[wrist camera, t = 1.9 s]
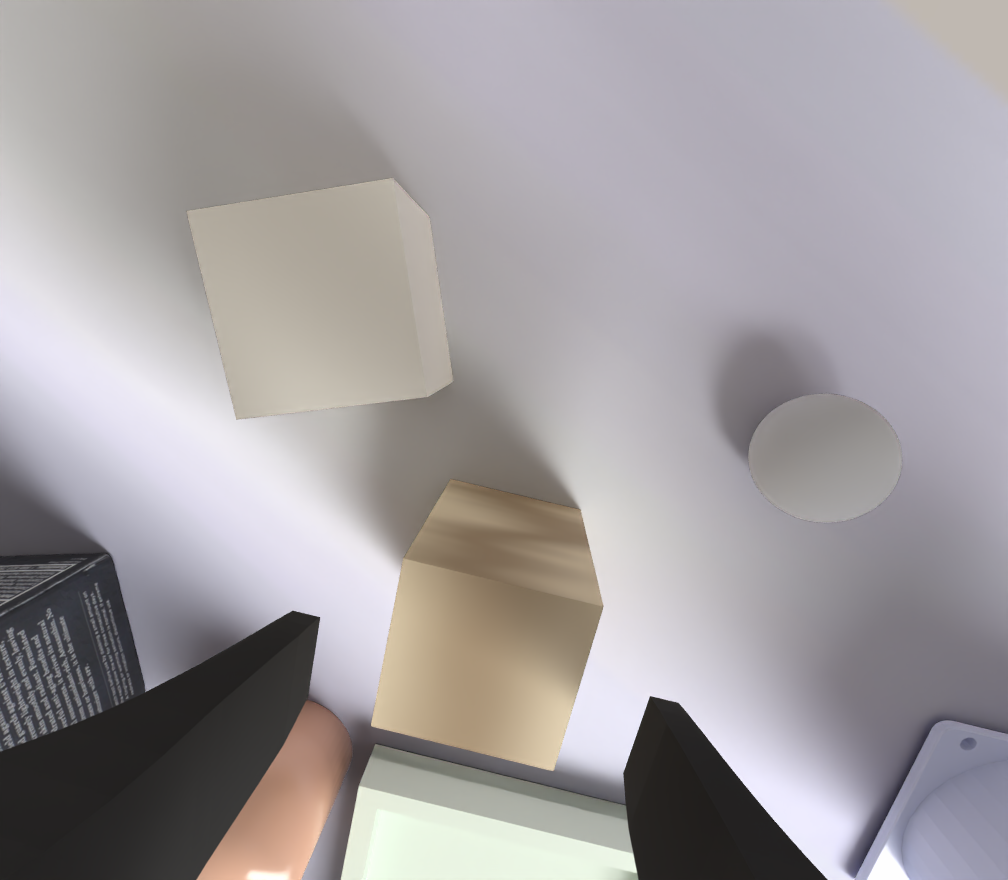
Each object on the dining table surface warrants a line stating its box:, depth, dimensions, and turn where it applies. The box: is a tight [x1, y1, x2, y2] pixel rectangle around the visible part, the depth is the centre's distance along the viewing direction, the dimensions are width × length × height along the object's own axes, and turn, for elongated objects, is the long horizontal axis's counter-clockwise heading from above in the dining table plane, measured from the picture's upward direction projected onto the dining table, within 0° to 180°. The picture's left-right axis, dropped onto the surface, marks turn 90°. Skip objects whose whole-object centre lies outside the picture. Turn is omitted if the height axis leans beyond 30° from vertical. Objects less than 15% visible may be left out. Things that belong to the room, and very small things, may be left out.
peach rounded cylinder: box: [197, 700, 353, 880], centre depth 17 cm, size 4×4×5 cm
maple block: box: [371, 479, 603, 771], centre depth 14 cm, size 4×4×6 cm
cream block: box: [186, 178, 454, 420], centre depth 14 cm, size 5×5×4 cm
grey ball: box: [748, 394, 902, 523], centre depth 14 cm, size 4×4×4 cm
